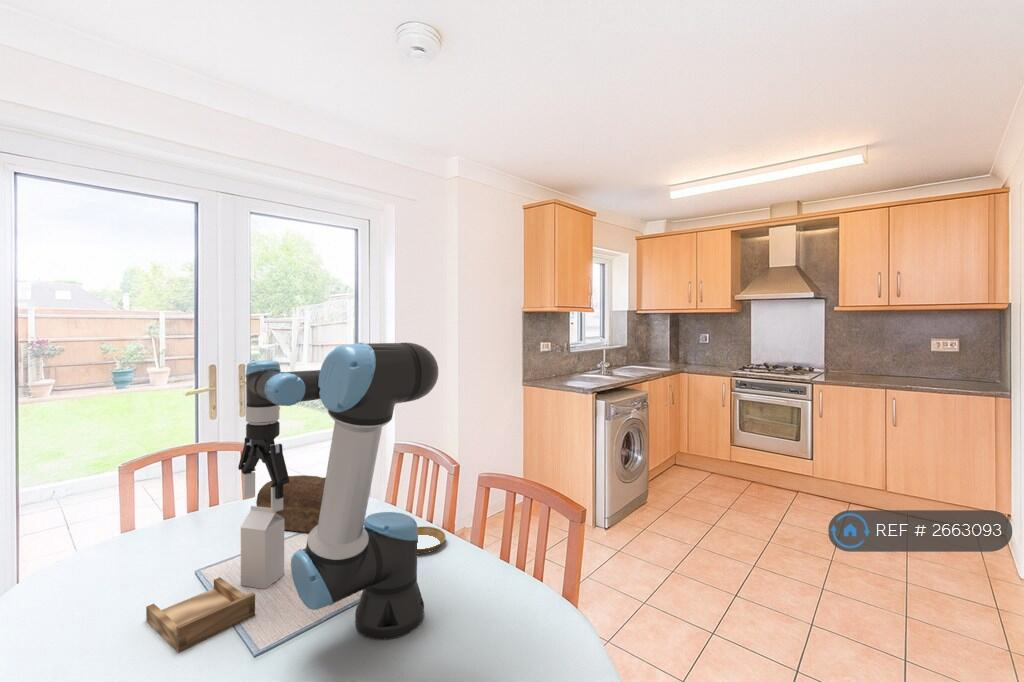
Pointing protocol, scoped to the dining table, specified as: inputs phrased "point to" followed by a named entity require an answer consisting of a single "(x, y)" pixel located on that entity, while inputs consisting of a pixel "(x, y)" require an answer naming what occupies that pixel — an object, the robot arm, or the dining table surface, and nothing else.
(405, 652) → the dining table surface
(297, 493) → the bread
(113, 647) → the dining table surface
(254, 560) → the milk carton
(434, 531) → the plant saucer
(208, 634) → the wooden tray
